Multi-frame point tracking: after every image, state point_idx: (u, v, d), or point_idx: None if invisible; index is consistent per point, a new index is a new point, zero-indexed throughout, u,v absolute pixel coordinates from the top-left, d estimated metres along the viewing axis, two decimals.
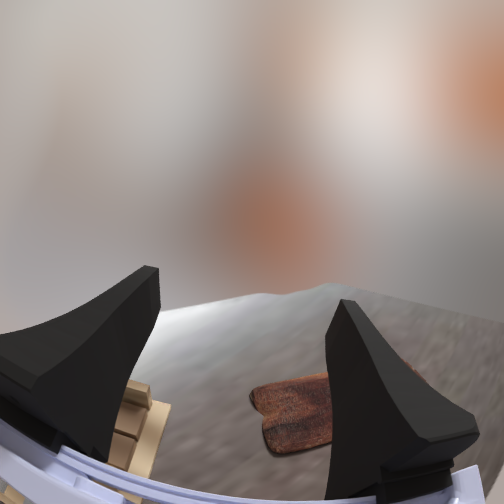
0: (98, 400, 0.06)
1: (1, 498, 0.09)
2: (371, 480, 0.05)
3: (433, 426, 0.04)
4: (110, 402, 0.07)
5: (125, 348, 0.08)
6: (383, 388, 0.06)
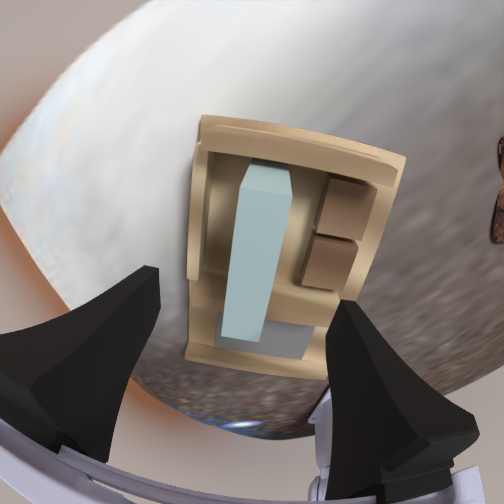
0: (98, 400, 0.06)
1: (195, 359, 0.24)
2: (371, 480, 0.05)
3: (433, 426, 0.04)
4: (110, 402, 0.07)
5: (125, 348, 0.08)
6: (383, 388, 0.06)
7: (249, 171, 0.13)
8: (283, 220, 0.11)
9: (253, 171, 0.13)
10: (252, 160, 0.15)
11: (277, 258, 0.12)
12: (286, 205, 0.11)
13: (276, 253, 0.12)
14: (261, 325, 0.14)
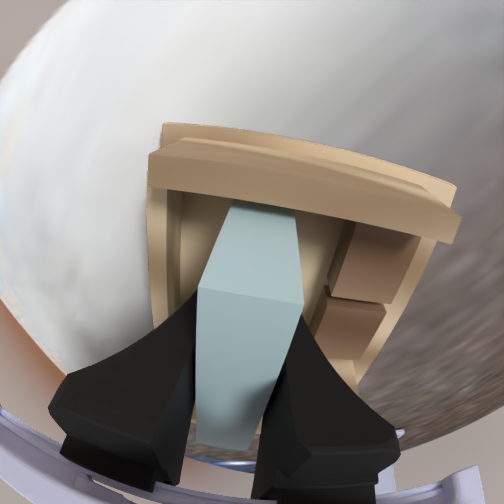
0: (182, 426, 0.06)
1: None
2: (272, 483, 0.05)
3: (327, 433, 0.04)
4: (186, 424, 0.07)
5: None
6: (286, 383, 0.06)
7: (226, 228, 0.08)
8: (284, 340, 0.06)
9: (233, 227, 0.08)
10: None
11: (272, 385, 0.07)
12: (291, 319, 0.06)
13: (270, 380, 0.07)
14: (249, 440, 0.09)
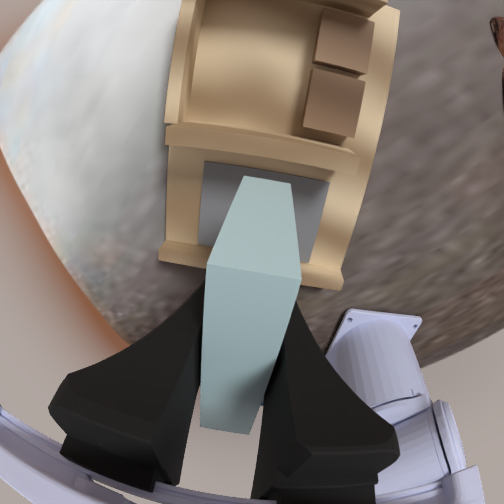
0: (182, 426, 0.06)
1: (172, 259, 0.20)
2: (272, 483, 0.05)
3: (326, 433, 0.04)
4: (186, 424, 0.07)
5: (198, 367, 0.08)
6: (286, 383, 0.06)
7: (230, 216, 0.08)
8: (284, 315, 0.07)
9: (237, 215, 0.08)
10: (239, 189, 0.10)
11: (273, 361, 0.07)
12: (290, 294, 0.06)
13: (272, 356, 0.07)
14: (251, 422, 0.09)
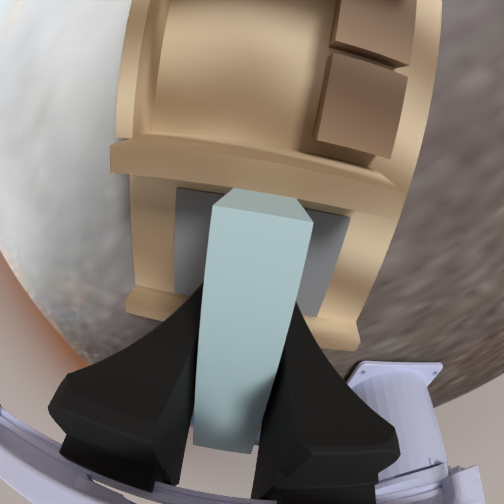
0: (182, 426, 0.06)
1: (142, 312, 0.15)
2: (272, 483, 0.05)
3: (327, 434, 0.04)
4: (186, 424, 0.07)
5: None
6: (287, 383, 0.06)
7: (233, 191, 0.08)
8: (295, 270, 0.06)
9: (240, 192, 0.08)
10: None
11: (283, 339, 0.06)
12: (302, 241, 0.06)
13: (281, 331, 0.06)
14: (254, 435, 0.08)
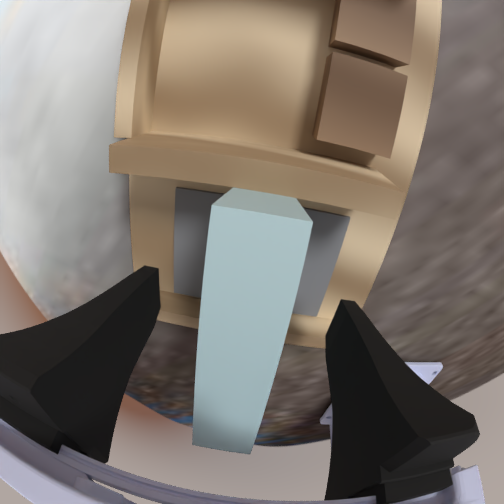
0: (98, 400, 0.06)
1: None
2: (371, 480, 0.05)
3: (433, 426, 0.04)
4: (110, 402, 0.07)
5: (125, 348, 0.08)
6: (383, 388, 0.06)
7: (233, 191, 0.08)
8: (295, 270, 0.06)
9: (239, 191, 0.08)
10: None
11: (282, 339, 0.06)
12: (301, 240, 0.06)
13: (281, 331, 0.06)
14: (254, 435, 0.08)
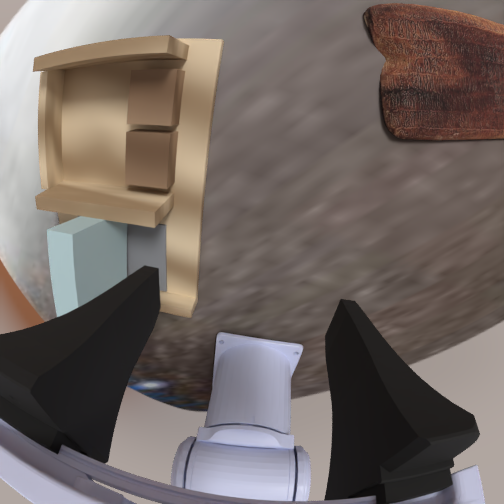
0: (98, 400, 0.06)
1: None
2: (371, 480, 0.05)
3: (433, 426, 0.04)
4: (110, 402, 0.07)
5: (125, 348, 0.08)
6: (383, 388, 0.06)
7: (73, 219, 0.15)
8: (71, 252, 0.13)
9: (76, 219, 0.16)
10: None
11: (74, 282, 0.14)
12: (70, 241, 0.13)
13: (73, 278, 0.14)
14: None
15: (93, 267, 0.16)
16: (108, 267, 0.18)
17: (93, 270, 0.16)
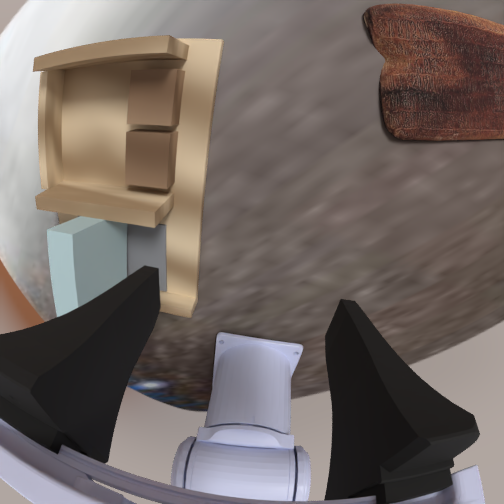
0: (98, 400, 0.06)
1: None
2: (371, 480, 0.05)
3: (433, 426, 0.04)
4: (110, 402, 0.07)
5: (125, 348, 0.08)
6: (383, 388, 0.06)
7: (73, 219, 0.15)
8: (71, 252, 0.13)
9: (76, 219, 0.16)
10: None
11: (74, 282, 0.14)
12: (70, 241, 0.13)
13: (73, 278, 0.14)
14: None
15: (93, 267, 0.16)
16: (108, 267, 0.18)
17: (93, 270, 0.16)
